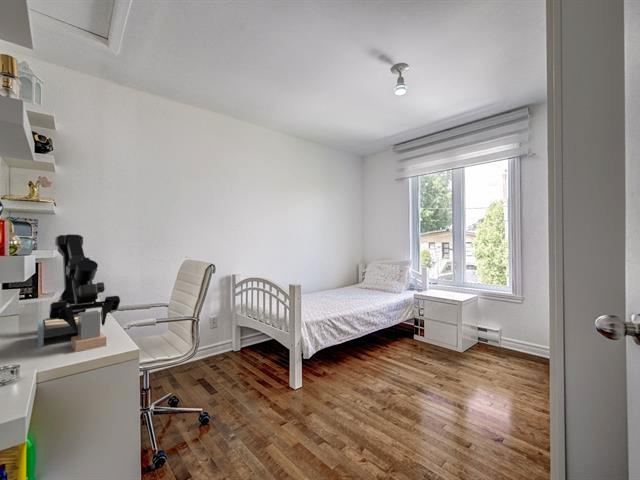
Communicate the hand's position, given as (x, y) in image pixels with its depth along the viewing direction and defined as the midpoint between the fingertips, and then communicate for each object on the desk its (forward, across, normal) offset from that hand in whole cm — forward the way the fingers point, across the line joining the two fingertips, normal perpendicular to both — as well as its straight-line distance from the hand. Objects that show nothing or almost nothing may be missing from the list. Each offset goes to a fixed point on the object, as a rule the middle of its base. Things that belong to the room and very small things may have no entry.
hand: (90, 326), depth 98 cm
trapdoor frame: (-8, -3, +18) cm, 20 cm away
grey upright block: (+2, 0, +4) cm, 4 cm away
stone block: (+4, 0, +6) cm, 7 cm away
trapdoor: (-12, -3, +14) cm, 18 cm away
